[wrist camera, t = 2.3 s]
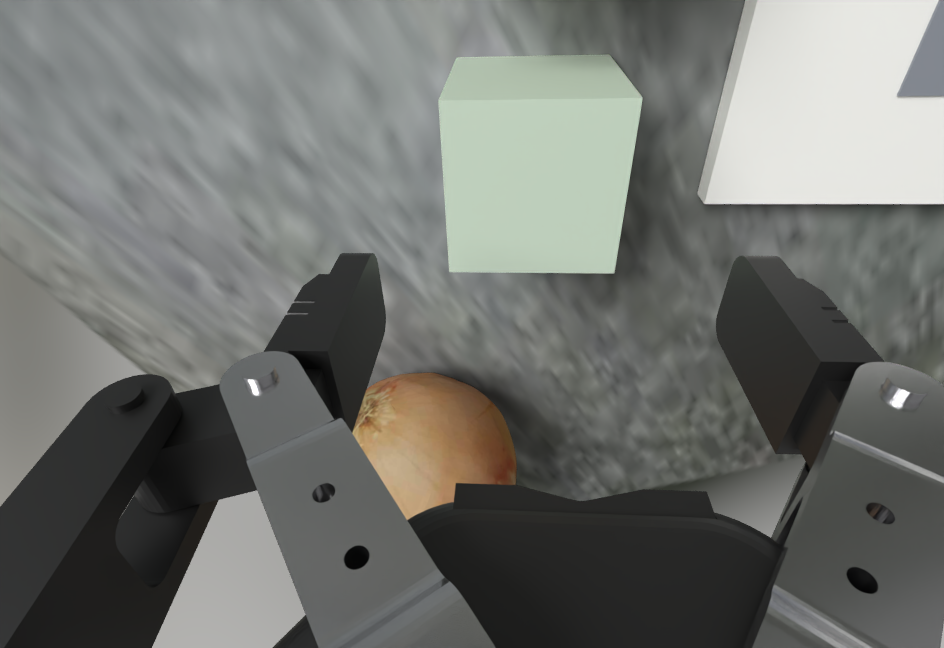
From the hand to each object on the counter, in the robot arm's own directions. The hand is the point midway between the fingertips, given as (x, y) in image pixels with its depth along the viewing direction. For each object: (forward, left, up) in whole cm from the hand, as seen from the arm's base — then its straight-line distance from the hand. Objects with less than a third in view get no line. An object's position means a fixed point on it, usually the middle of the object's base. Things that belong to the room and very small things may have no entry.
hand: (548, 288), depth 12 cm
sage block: (0, 0, -11) cm, 11 cm away
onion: (+15, -5, -11) cm, 19 cm away
